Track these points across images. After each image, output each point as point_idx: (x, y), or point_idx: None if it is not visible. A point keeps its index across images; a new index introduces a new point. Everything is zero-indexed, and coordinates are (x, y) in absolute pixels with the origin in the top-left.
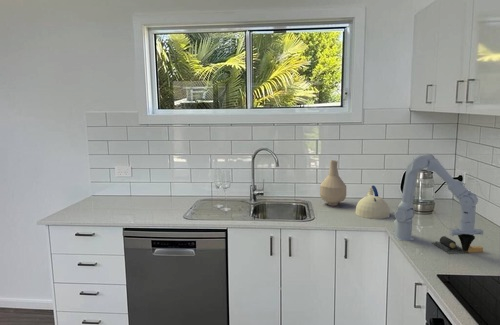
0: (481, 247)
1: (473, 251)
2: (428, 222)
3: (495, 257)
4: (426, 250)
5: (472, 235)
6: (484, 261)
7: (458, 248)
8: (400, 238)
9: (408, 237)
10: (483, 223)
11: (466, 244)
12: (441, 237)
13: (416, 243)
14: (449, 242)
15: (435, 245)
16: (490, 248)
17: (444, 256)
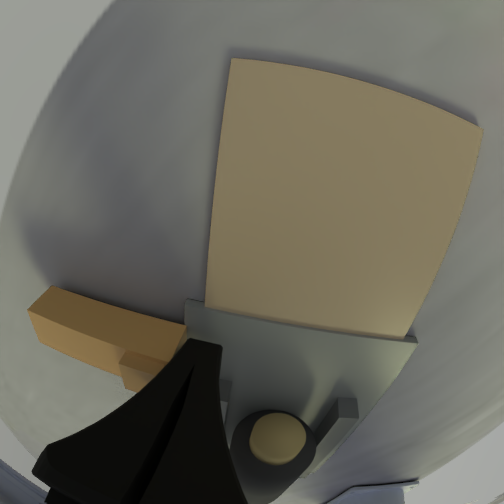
0: (37, 318)
1: (125, 315)
2: None
3: (16, 167)
4: (450, 415)
5: (59, 492)
6: (171, 71)
7: (228, 399)
8: (402, 491)
9: (381, 497)
10: (9, 421)
11: (202, 411)
12: (273, 500)
13: (385, 470)
14: (299, 468)
15: (330, 454)
16: (3, 311)
17: (474, 322)
